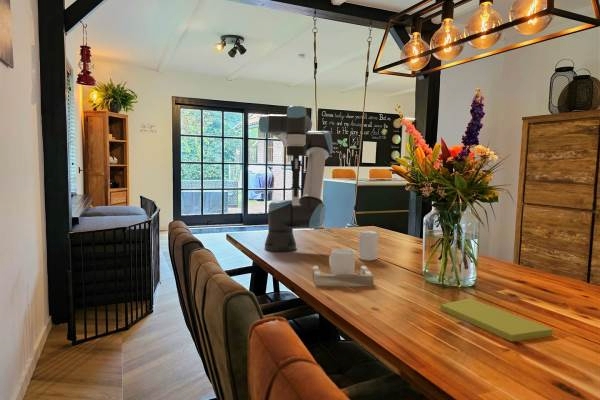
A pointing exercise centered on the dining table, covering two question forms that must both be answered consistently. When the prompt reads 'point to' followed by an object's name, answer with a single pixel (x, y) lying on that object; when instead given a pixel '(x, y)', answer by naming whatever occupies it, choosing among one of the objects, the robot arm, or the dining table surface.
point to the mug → (342, 261)
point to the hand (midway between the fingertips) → (295, 204)
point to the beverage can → (368, 245)
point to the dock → (343, 278)
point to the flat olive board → (496, 320)
